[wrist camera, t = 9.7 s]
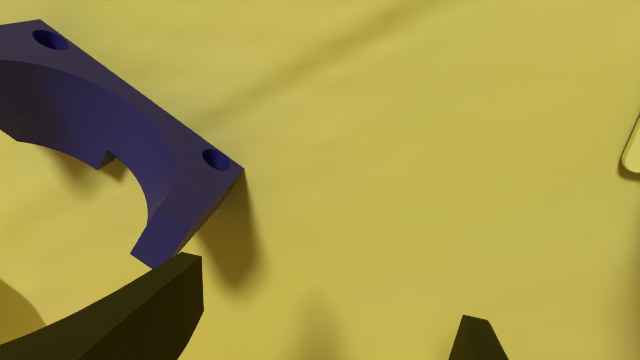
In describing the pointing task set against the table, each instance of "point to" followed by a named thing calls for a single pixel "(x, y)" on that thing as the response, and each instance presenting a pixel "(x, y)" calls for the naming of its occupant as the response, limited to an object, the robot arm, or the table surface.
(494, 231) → the table surface
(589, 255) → the table surface
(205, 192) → the cable clip
